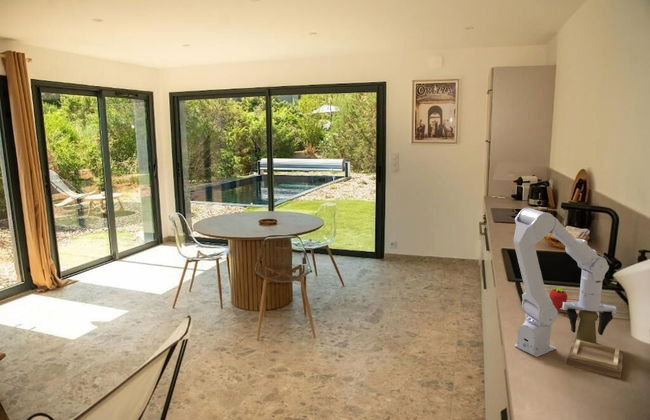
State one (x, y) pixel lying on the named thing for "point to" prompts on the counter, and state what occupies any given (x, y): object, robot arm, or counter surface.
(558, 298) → the strawberry
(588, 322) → the cork
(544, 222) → the robot arm
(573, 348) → the wooden serving tray
